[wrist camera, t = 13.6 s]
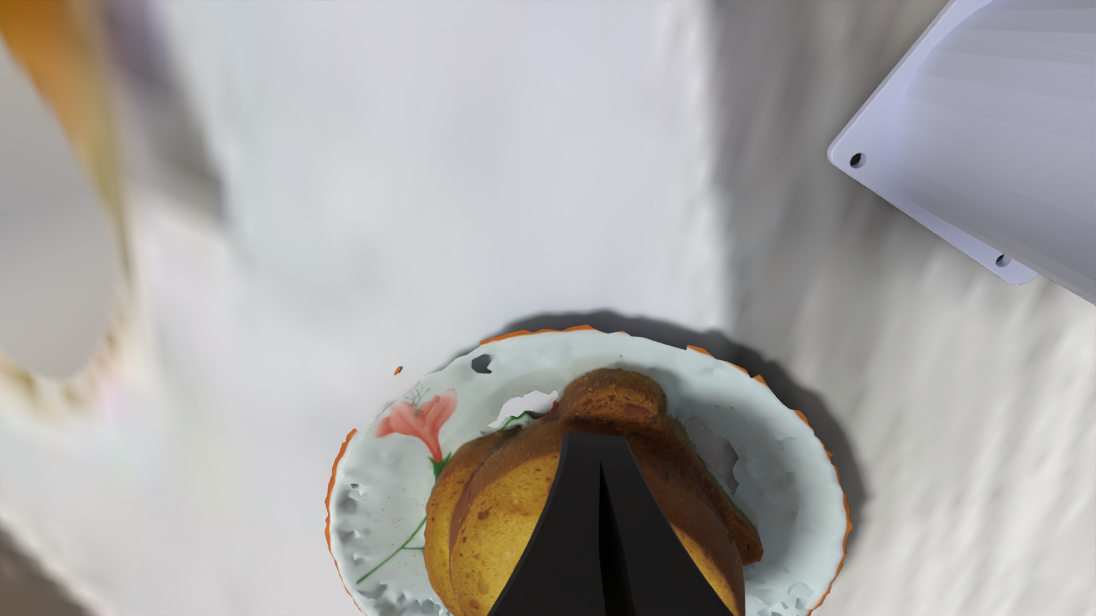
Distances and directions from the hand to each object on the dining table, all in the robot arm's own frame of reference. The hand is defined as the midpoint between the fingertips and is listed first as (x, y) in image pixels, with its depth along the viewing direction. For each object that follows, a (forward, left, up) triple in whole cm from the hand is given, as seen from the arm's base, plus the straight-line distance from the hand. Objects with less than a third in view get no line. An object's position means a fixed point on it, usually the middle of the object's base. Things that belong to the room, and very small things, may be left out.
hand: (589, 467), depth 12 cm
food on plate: (-8, +13, -11) cm, 18 cm away
